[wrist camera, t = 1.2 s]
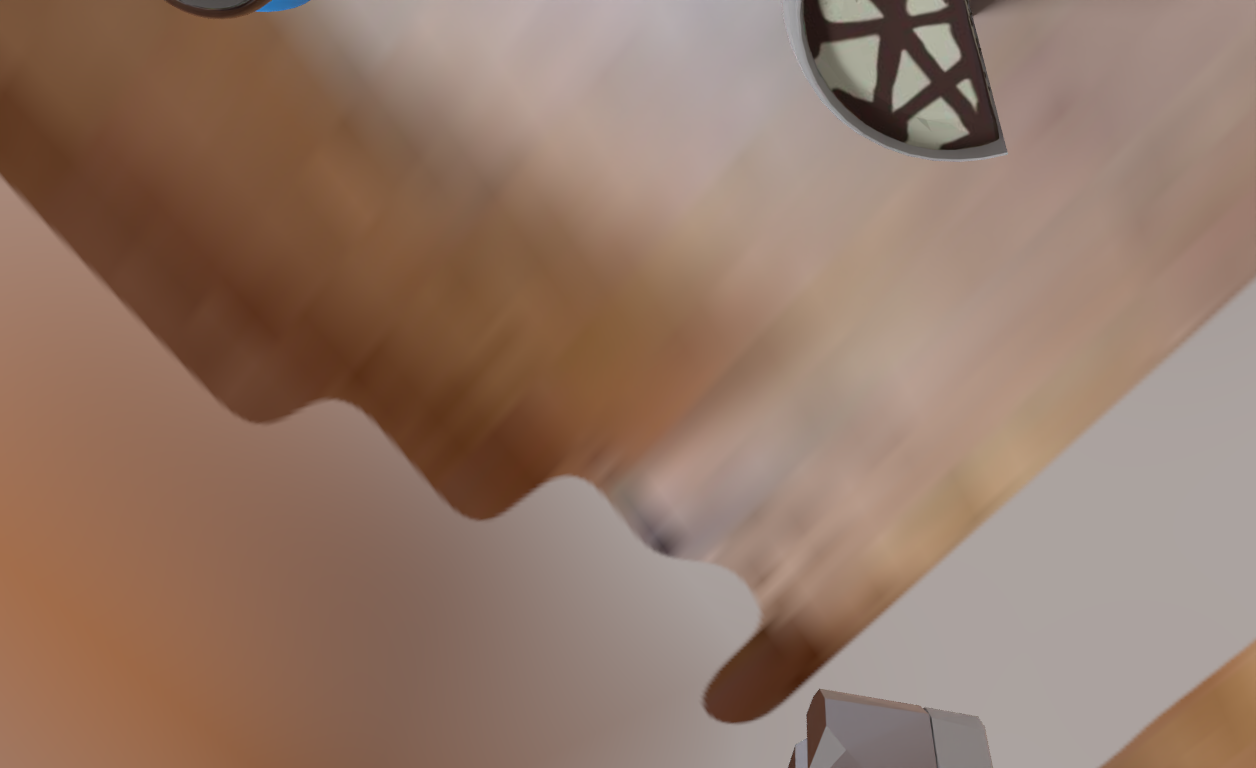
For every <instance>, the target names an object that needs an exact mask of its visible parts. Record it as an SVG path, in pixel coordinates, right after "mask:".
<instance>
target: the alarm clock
mask: <svg viewBox="0 0 1256 768" xmlns="http://www.w3.org/2000/svg"><path fill="white" fill-rule="evenodd" d="M164 1H165V2H167V3H169V4H170V5H172V6H174V7H176V8H178V9H180V10H181V11H183V12H186V13H189V14H192V15H194V16H198V17H203V18H208V19H231V18H237V17H241V16H245V15H248V14H250V13H252V12H255V11H259V12H271V11H281V10H287V9H291V8H295V7H298V6H300V5H303V4H305V3H307V2H308V1H310V0H164Z"/></svg>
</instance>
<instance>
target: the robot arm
mask: <svg viewBox="0 0 1256 768" xmlns="http://www.w3.org/2000/svg"><path fill="white" fill-rule="evenodd" d="M806 717H807V718H806V719H807V739H805V740H803V741H801V742H800V743H798V744H796V745H795V747H794V750H793V753H792V756H791V760H790V763H789V766H788V768H993V766H992V761H991V756H990V751H989V746H988V741H987V735H986V730H985V726H984V725H983V724H982V722H981V721H980V719H979V717H978V716H972V715H966V714H961V713H955V712H949V711H943V710H938V709H933V708H927V707H925V708H922V707H921V706H919V705H913V704H907V703H901V702H894V701H889V700H883V699H877V698H871V697H865V696H859V695H854V694H847V693H842V692H836V691H829V690H824V689H819V690H818V691H817V693H816V694H815V695H814V696H813V699H812V701H811V704H810V707H809V709H808V711H807V715H806Z"/></svg>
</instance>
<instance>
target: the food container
mask: <svg viewBox="0 0 1256 768" xmlns="http://www.w3.org/2000/svg"><path fill="white" fill-rule="evenodd" d="M782 10H783V20H784V23H785V27H786V31H787V35H788V39H789V43H790V45H791V48H792V50H793V52H794V54H795V57H796V59H797V61H798V63H799V65H800V68H801V69H802V71H803V73H804V75H805V77H806V79H807V80H808V82H809V83H810V85H811V86H812V88H813V89H814V91H815V92H816V94H817V95H818V97H819V98H820V100H821V101H822V102H823V103H824V104H825V105H826V106H827V107H828V109H829V110H830V111H831V112H832V113H833V114H834V115H835V116H836V117H837V118H838V119H839V120H840V121H842V122H843V123H844V124H846V125H847V126H848V127H850V128H851V129H852V130H854V131H855V132H856V133H858V134H860V135H861V136H863V137H865V138H867V139H869V140H871V141H873V142H874V143H876V144H878V145H881V146H882V147H884V148H887V149H890V150H893V151H895V152H898V153H901V154H904V155H907V156H911V157H916V158H922V159H927V160H932V161H952V162H961V161H973V160H984V159H989V158H993V157H998V156H1002V155H1007V154H1008V153H1007V149H1006V145H1005V141H1004V137H1003V133H1002V130H1001V126H1000V122H999V118H998V114H997V110H996V106H995V102H994V98H993V95H992V91H991V87H990V83H989V79H988V75H987V71H986V67H985V63H984V60H983V56H982V52H981V48H980V44H979V40H978V36H977V32H976V29H975V25H974V21H973V17H972V13H971V9H970V5H969V1H968V0H782Z"/></svg>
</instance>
